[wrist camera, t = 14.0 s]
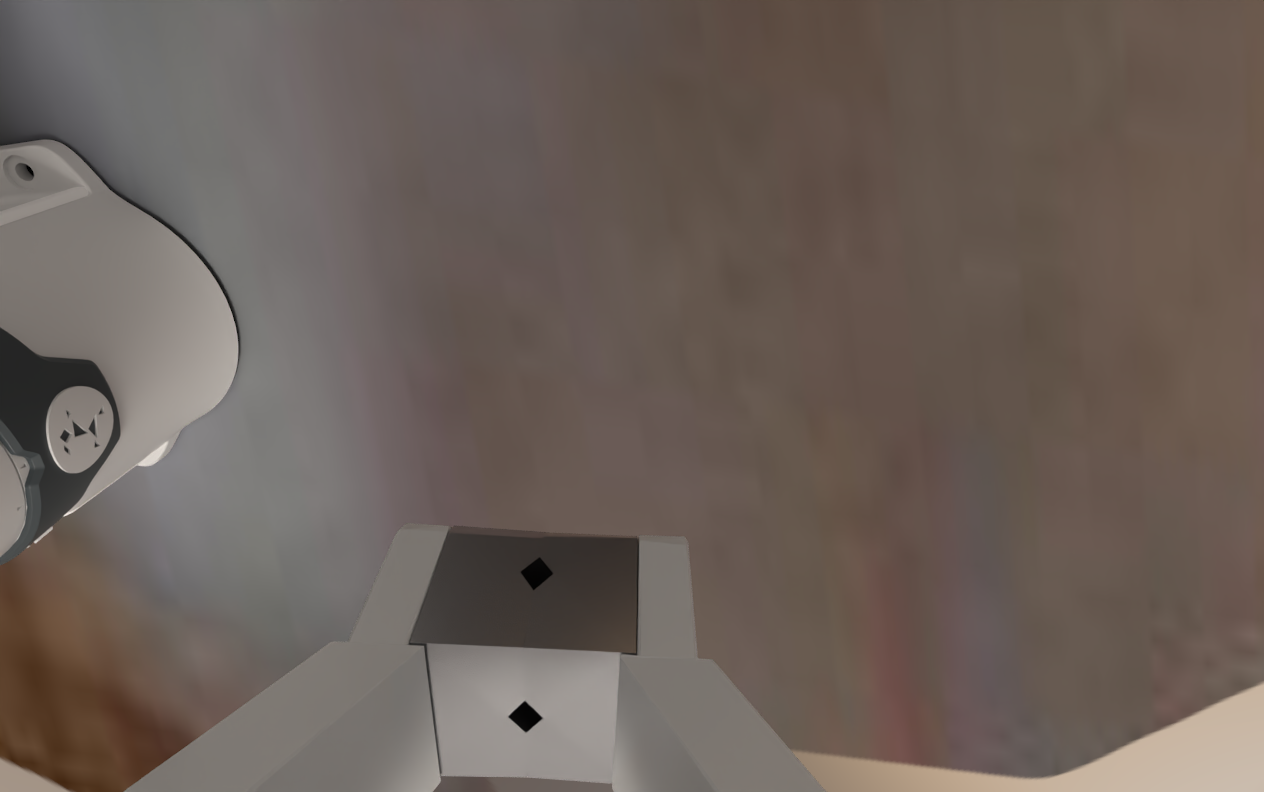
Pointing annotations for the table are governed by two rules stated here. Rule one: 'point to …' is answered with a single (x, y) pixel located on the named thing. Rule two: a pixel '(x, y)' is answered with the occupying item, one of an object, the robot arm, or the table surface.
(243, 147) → the table surface
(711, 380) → the table surface
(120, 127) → the table surface
